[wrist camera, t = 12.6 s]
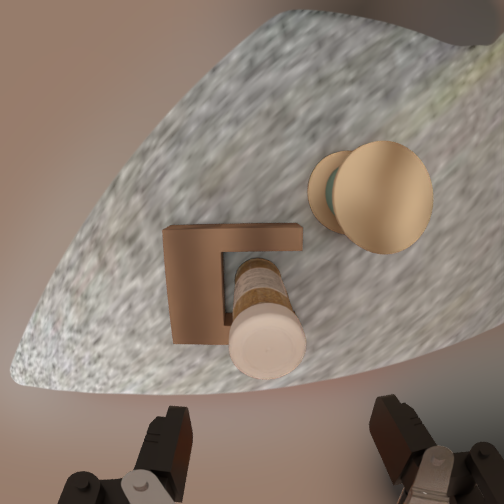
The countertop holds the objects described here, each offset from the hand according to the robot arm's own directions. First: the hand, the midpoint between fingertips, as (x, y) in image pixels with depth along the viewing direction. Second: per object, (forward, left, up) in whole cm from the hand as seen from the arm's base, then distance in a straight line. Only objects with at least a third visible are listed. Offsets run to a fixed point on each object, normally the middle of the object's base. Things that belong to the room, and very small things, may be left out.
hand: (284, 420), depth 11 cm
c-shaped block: (+3, 0, -19) cm, 19 cm away
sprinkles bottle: (0, 0, -19) cm, 19 cm away
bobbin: (-8, -9, -19) cm, 23 cm away
